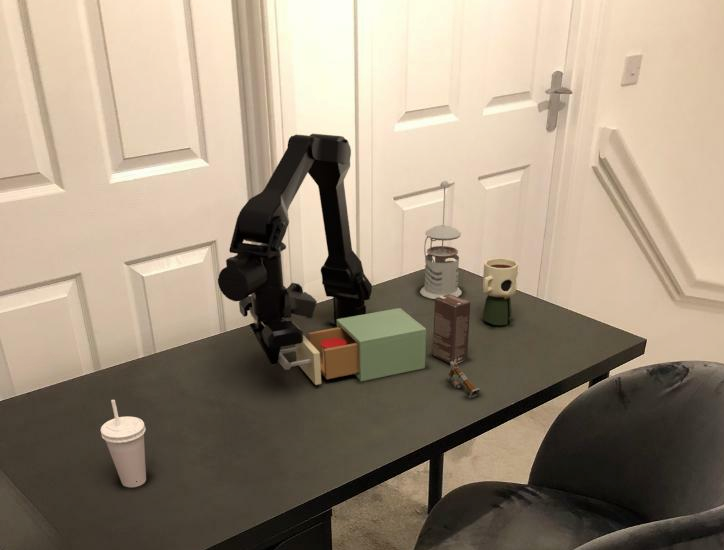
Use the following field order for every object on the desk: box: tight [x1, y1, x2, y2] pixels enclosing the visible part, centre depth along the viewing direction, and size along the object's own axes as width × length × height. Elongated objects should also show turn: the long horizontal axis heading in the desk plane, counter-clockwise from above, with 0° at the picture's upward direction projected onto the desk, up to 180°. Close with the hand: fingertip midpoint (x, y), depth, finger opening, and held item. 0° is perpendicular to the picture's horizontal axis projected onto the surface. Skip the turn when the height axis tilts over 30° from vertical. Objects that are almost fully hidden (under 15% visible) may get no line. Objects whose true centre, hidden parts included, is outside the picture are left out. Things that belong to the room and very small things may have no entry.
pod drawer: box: [277, 326, 359, 386], centre depth 155 cm, size 18×10×6 cm, turn 115°
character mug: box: [482, 257, 519, 326], centre depth 174 cm, size 11×7×13 cm, turn 138°
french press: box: [419, 180, 463, 300], centre depth 186 cm, size 10×12×25 cm
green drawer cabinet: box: [336, 307, 427, 382], centre depth 159 cm, size 14×12×8 cm
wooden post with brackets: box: [446, 361, 481, 399], centre depth 151 cm, size 2×8×4 cm, turn 35°
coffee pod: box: [321, 338, 347, 366], centre depth 156 cm, size 5×5×4 cm
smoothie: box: [100, 399, 147, 488], centre depth 123 cm, size 6×6×14 cm
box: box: [432, 294, 472, 364], centre depth 160 cm, size 6×4×12 cm
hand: (273, 363), depth 152 cm, fingers closed
